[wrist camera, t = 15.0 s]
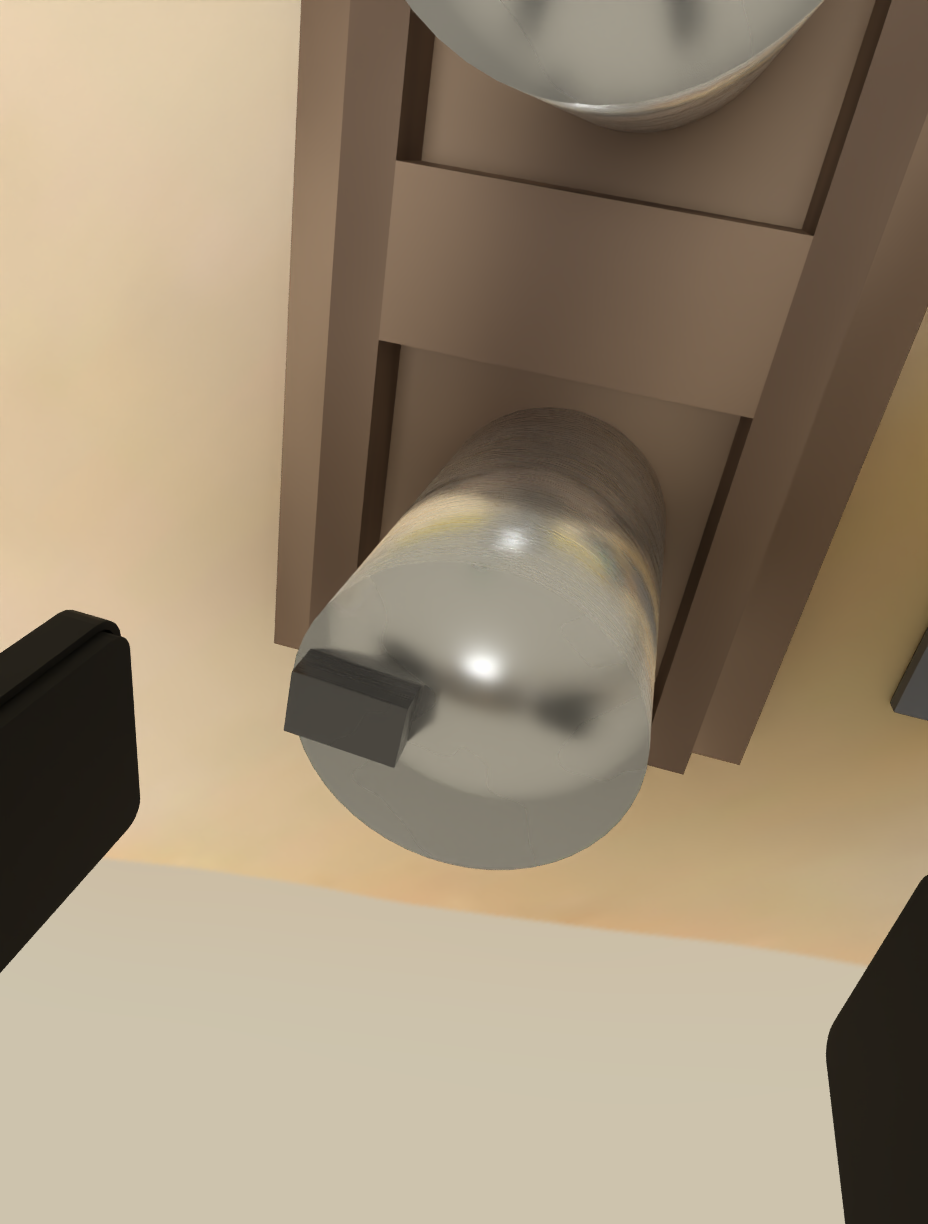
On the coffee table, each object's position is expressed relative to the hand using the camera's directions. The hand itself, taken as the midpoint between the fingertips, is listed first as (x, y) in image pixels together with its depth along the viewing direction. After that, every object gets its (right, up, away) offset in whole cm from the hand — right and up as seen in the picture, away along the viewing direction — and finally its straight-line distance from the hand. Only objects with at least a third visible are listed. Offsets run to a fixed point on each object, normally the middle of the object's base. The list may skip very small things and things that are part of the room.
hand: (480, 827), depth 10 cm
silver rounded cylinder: (+2, +5, +9) cm, 10 cm away
